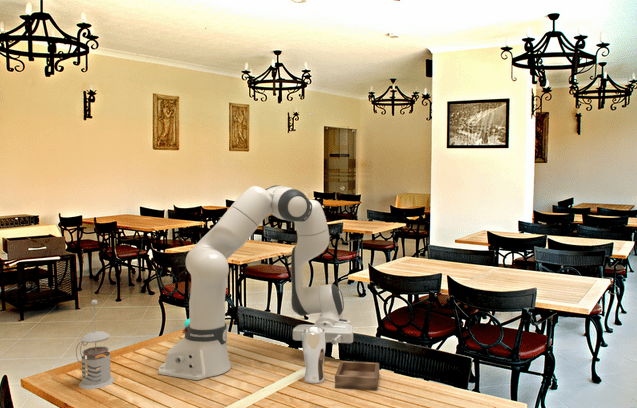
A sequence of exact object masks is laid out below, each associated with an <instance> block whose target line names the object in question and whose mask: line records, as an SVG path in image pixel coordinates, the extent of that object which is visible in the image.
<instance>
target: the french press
mask: <svg viewBox="0 0 637 408" xmlns="http://www.w3.org/2000/svg"><path fill="white" fill-rule="evenodd" d="M97 304H98V300H97V299H92V300H91V302H90V305H93V308H94V311H93V312H94V313H93V314H94V315H93V317H94V321H96V305H97ZM96 326H97V325H94V331H91V332H88V333H85V334H84V335H83V336H82V337H80V339H79V340H80V342H78V344H77V345H76V348H75V356H76V360H77V362H78V363H79V364H80V365H81V377H82V379H81V381H80V382H79V384H78V386H79V388H81V389H83V390H94V389H101V388H104V387H106V386H107V387H108V386H110V385H111V384H113V383H114V382H115V378H114V377H113V376H112V375H111V373H112V372H111V353H110V352H109V350H110V348H109V347H108V346H97V343H100V342H103V341H106V340H109V338H110V337H111V334H109V333H107V332H105V331H102V330H101V331H100V330H99V331H98V330H96ZM84 343H85V344H84ZM88 343H89V344H93V343H94V346H93V347H88V348H86V349H84V350H83V351H82V346H84V347H85V346H87V345H88ZM79 345H80V347H79ZM78 347H79V354H80V356H81V362H80V360H79V358H78ZM82 354H83V355H82ZM101 355H104V356H101Z"/></svg>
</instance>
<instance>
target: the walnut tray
mask: <svg viewBox="0 0 637 408" xmlns="http://www.w3.org/2000/svg"><path fill="white" fill-rule="evenodd" d="M379 378H380V363H379V362H369V361H351V360H350V361H348V360H340V361H339V365H338V367H337V369H336V372H335V375H334V388H335V389H348V390H365V391H376V392H377V391H378V387H379V386H378V385H379Z"/></svg>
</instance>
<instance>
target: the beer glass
mask: <svg viewBox="0 0 637 408" xmlns="http://www.w3.org/2000/svg"><path fill="white" fill-rule="evenodd" d="M301 345H302V353H303V359H304V366H305V371H304V379H303V380H304V382H306V383H308V384H320V383H323V382H324V381H325V380H326V379H325V374H324V373H325V372H324V362H325V361H324V360H325V357H326V356H325V354H326V345H327V343H326V340H325V330H324V329H323V328H319V327H309V328H305V329H304V330H303V340H302V341H301Z"/></svg>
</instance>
